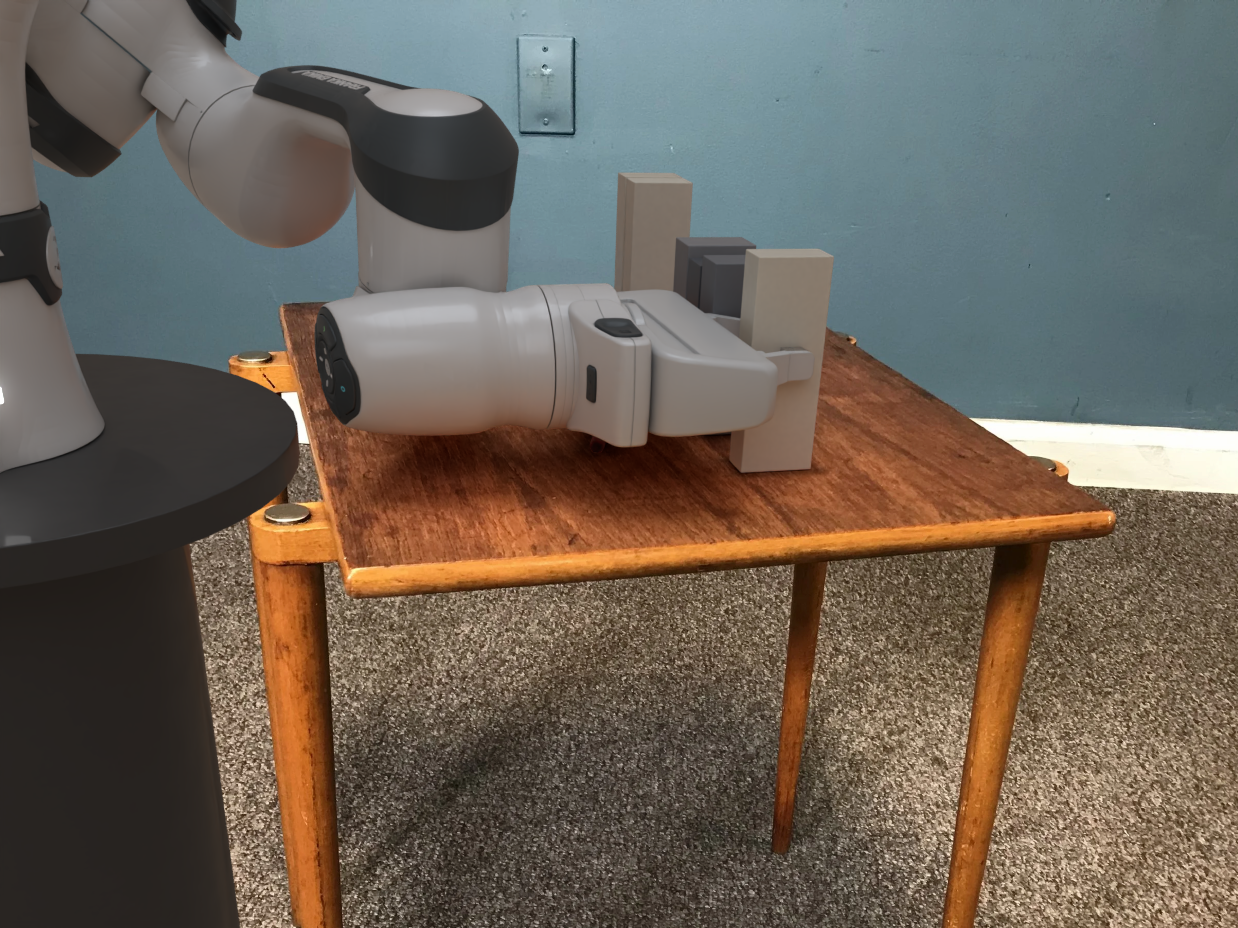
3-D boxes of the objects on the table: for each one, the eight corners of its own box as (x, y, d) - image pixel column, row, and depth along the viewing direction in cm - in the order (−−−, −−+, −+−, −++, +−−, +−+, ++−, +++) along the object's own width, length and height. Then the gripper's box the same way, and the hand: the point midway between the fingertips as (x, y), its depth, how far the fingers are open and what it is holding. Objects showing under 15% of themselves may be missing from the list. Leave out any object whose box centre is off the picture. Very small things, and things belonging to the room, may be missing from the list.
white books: (641, 376, 104) (649, 196, 97) (604, 336, 114) (609, 172, 108) (715, 373, 105) (728, 196, 99) (673, 335, 116) (682, 172, 109)
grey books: (704, 435, 91) (715, 264, 85) (667, 396, 99) (675, 237, 93) (772, 432, 92) (788, 263, 87) (730, 393, 100) (742, 236, 95)
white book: (740, 473, 84) (759, 256, 78) (728, 460, 86) (745, 248, 80) (810, 469, 86) (834, 256, 79) (797, 457, 88) (819, 248, 81)
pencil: (604, 454, 87) (604, 441, 86) (588, 453, 87) (588, 440, 86) (626, 377, 103) (626, 365, 103) (613, 376, 104) (613, 364, 103)
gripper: (545, 360, 90) (728, 352, 94) (628, 458, 73) (847, 444, 77) (546, 269, 87) (735, 265, 91) (633, 349, 70) (860, 340, 74)
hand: (787, 347), depth 84 cm, fingers open, 6 cm apart
